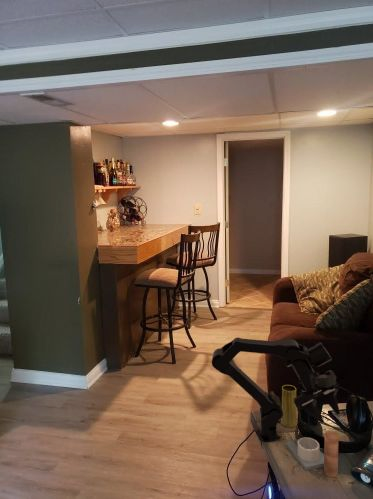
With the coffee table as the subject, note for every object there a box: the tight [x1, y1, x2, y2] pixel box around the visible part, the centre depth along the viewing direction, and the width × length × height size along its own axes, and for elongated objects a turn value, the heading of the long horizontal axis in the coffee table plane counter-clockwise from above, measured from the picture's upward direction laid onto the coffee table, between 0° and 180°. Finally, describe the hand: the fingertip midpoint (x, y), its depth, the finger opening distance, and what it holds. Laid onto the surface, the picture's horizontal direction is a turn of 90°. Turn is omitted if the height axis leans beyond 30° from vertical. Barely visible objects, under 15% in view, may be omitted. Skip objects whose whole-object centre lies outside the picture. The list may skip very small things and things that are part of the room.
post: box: [323, 430, 339, 478], centre depth 122 cm, size 4×4×13 cm
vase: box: [280, 384, 298, 428], centre depth 149 cm, size 6×6×14 cm
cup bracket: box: [284, 436, 324, 472], centre depth 131 cm, size 13×9×5 cm
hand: (330, 418), depth 129 cm, fingers open, 9 cm apart
